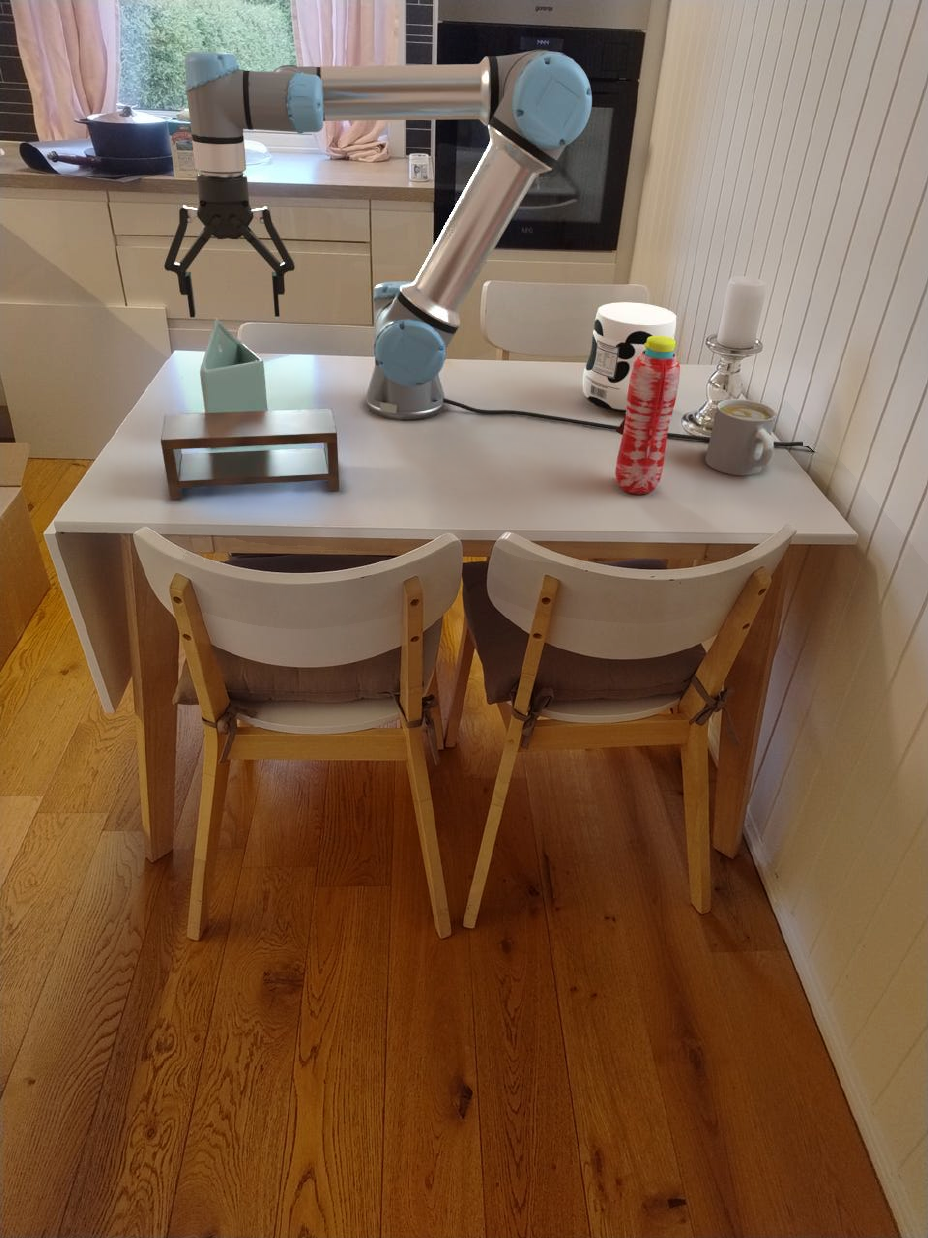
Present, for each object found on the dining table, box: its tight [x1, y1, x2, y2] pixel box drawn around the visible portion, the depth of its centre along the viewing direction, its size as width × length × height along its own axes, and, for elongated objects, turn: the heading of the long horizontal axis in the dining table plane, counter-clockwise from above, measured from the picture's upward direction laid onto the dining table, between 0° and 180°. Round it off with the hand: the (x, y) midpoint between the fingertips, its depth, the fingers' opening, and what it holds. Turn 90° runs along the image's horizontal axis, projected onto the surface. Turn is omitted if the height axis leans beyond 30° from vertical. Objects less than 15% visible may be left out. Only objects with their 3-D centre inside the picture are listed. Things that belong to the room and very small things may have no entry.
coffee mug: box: [705, 398, 777, 476], centre depth 151 cm, size 13×10×10 cm
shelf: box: [160, 408, 341, 501], centre depth 138 cm, size 26×10×10 cm, turn 102°
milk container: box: [582, 301, 677, 414], centre depth 171 cm, size 17×17×18 cm
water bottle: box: [614, 335, 681, 495], centre depth 140 cm, size 12×8×25 cm, turn 0°
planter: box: [199, 318, 269, 413], centre depth 151 cm, size 16×8×20 cm, turn 170°
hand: (235, 314), depth 145 cm, fingers open, 13 cm apart
